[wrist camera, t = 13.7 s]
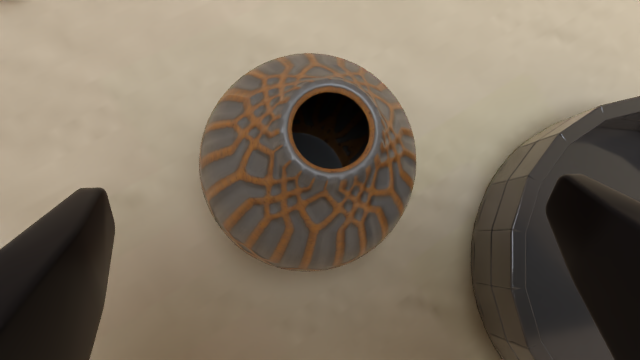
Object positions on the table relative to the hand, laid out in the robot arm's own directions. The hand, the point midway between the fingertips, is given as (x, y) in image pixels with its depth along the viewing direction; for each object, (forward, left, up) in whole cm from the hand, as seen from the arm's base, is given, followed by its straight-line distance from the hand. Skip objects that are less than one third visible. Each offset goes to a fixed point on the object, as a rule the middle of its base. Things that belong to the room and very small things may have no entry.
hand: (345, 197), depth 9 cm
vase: (+2, 0, -10) cm, 10 cm away
